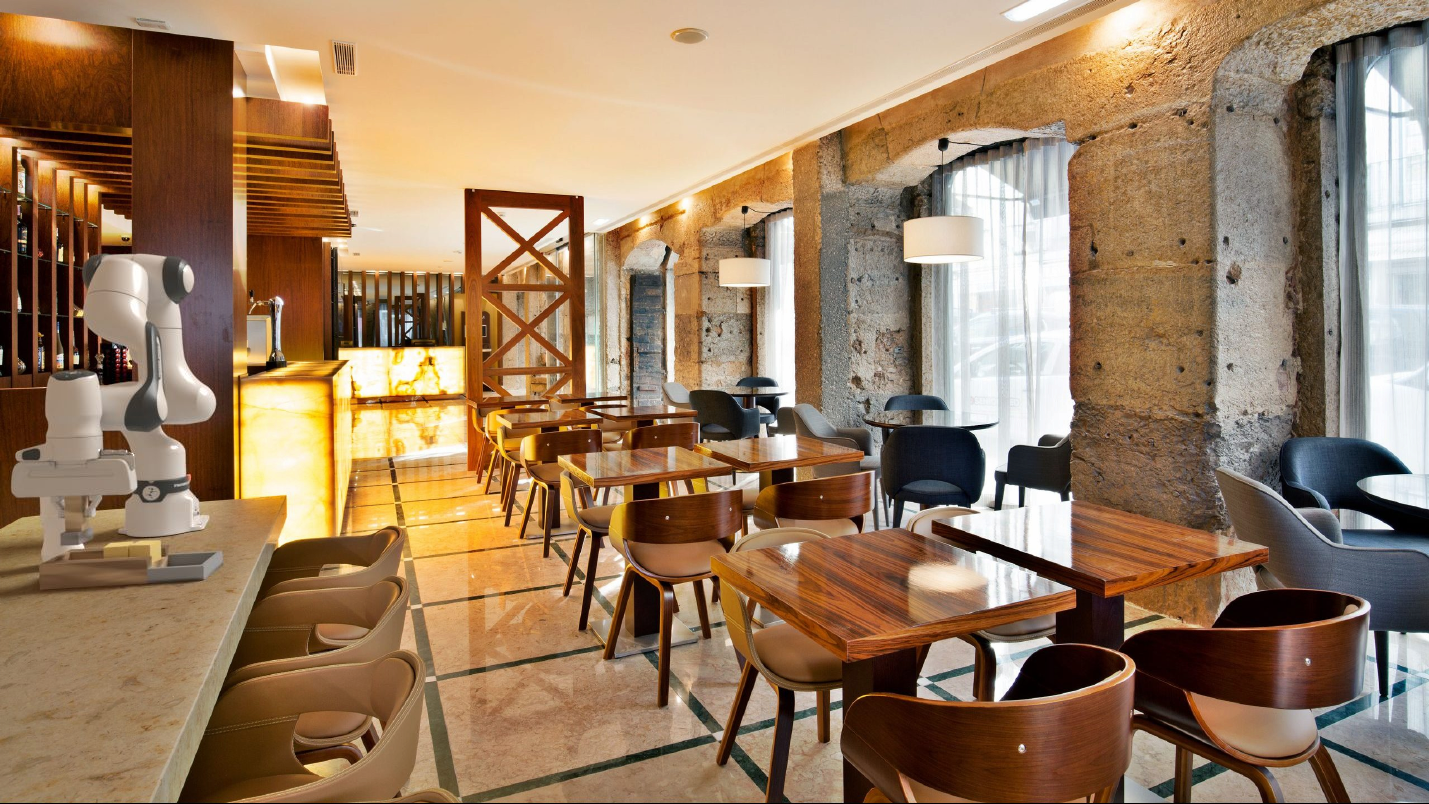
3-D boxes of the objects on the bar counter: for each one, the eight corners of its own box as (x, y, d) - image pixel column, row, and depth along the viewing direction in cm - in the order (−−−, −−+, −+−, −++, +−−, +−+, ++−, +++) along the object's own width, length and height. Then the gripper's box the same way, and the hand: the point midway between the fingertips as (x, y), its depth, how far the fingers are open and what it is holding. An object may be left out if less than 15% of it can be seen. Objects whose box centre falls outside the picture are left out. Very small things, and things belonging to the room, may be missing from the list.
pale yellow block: (110, 561, 158) (110, 542, 158) (133, 560, 160) (133, 541, 160) (104, 566, 155) (103, 547, 154) (127, 565, 156) (127, 546, 156)
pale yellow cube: (140, 559, 161) (140, 540, 160) (161, 558, 161) (160, 540, 161) (129, 564, 157) (128, 545, 156) (150, 563, 157) (149, 545, 157)
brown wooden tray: (71, 572, 160) (70, 549, 160) (170, 567, 165) (169, 544, 165) (40, 589, 149) (39, 564, 148) (147, 583, 154) (146, 559, 154)
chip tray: (170, 567, 165) (170, 553, 165) (222, 564, 168) (222, 551, 168) (147, 583, 154) (146, 568, 154) (203, 580, 157) (203, 565, 157)
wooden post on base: (76, 539, 157) (74, 489, 157) (93, 538, 158) (92, 488, 157) (60, 545, 151) (59, 494, 151) (78, 545, 152) (77, 493, 152)
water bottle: (59, 570, 161) (55, 454, 160) (32, 568, 163) (28, 453, 161) (93, 561, 168) (89, 450, 167) (67, 559, 170) (63, 449, 168)
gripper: (142, 447, 160) (143, 512, 161) (23, 449, 154) (25, 516, 155) (128, 451, 154) (130, 518, 155) (5, 452, 148) (7, 522, 149)
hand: (77, 517), depth 154 cm, fingers closed on wooden post on base, 3 cm apart
